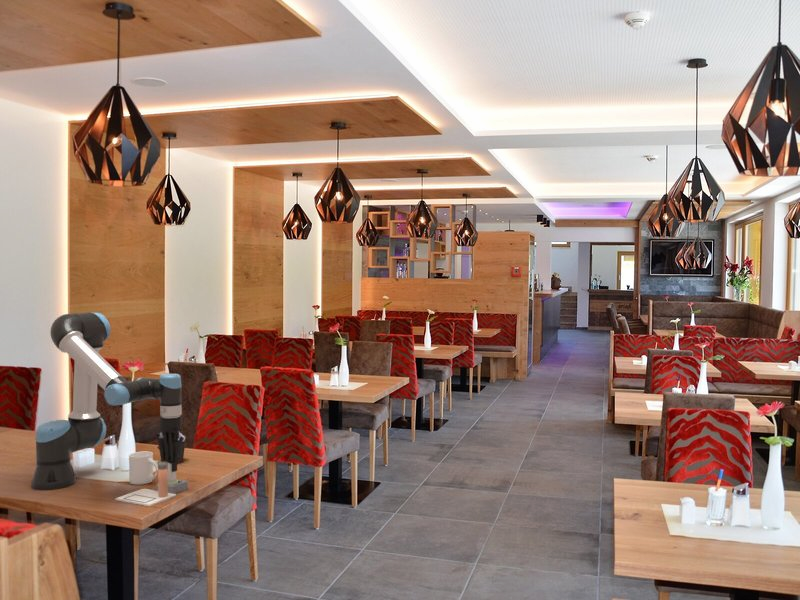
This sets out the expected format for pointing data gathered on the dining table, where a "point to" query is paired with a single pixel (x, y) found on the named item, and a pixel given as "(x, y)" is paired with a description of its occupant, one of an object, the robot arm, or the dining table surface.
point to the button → (173, 482)
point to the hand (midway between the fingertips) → (172, 479)
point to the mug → (141, 468)
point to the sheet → (144, 497)
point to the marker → (162, 479)
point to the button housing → (176, 487)
